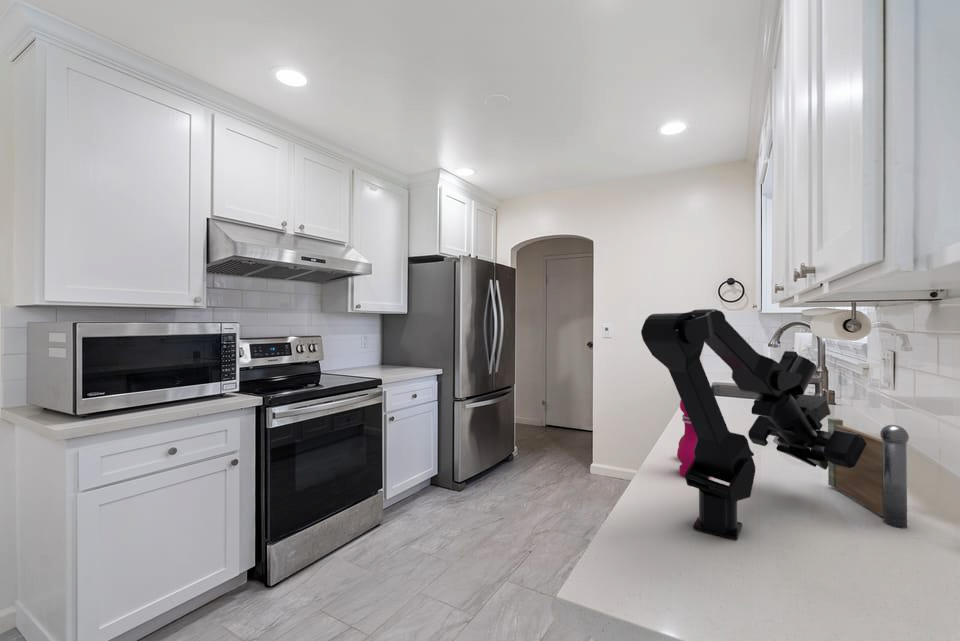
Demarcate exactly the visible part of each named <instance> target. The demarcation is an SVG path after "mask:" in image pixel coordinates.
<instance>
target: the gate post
mask: <svg viewBox="0 0 960 641" xmlns="http://www.w3.org/2000/svg"><path fill="white" fill-rule="evenodd" d="M879 434H880V439H881V440H883V516H882V517H883V519H882V520H883V521H882V522H883V523H884V524H886V525H887V526H889V527H894V528H899V529H906V528H908V482H907V481H908V477H907V476H908V475H907V474H908V473H907V472H908V471H907V470H908V469H907V468H908V466H907V465H908V464H907V463H908V462H907V461H908V460H907V455H908V454H907V443H908V442H909V439H910V437H909V436H910V435H909V433H908V431H907V430H906V429H905V428H904V427H902V426H899V425H896V424H888V425H885V426H884V427H882V428H881V430H880V433H879Z"/></svg>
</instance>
